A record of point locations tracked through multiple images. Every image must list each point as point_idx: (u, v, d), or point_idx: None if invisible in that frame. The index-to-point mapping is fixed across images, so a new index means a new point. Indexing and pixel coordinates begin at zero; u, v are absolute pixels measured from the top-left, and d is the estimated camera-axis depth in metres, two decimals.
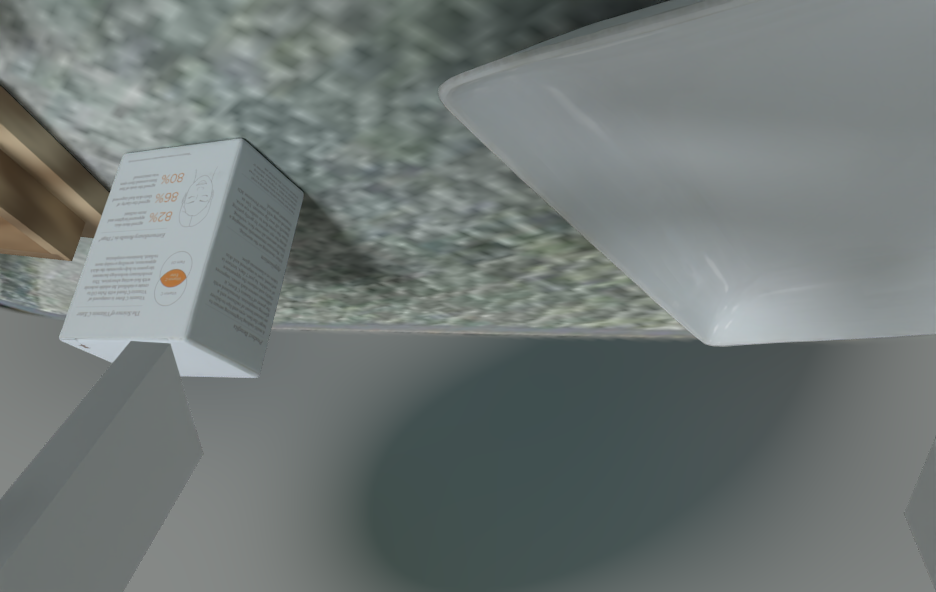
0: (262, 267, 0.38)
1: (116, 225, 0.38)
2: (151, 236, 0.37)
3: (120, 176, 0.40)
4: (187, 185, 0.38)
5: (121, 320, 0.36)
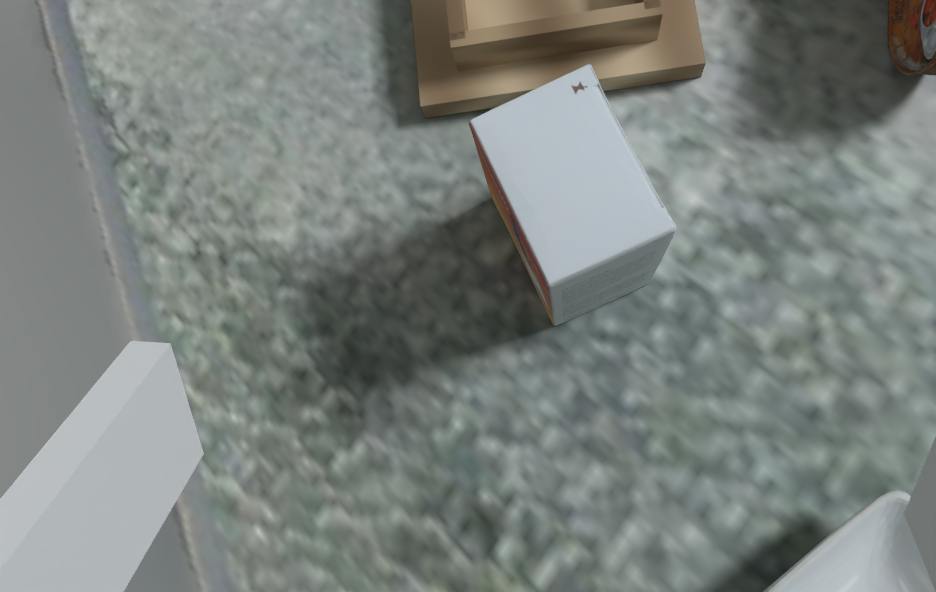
0: (590, 294, 0.35)
1: None
2: None
3: None
4: None
5: None
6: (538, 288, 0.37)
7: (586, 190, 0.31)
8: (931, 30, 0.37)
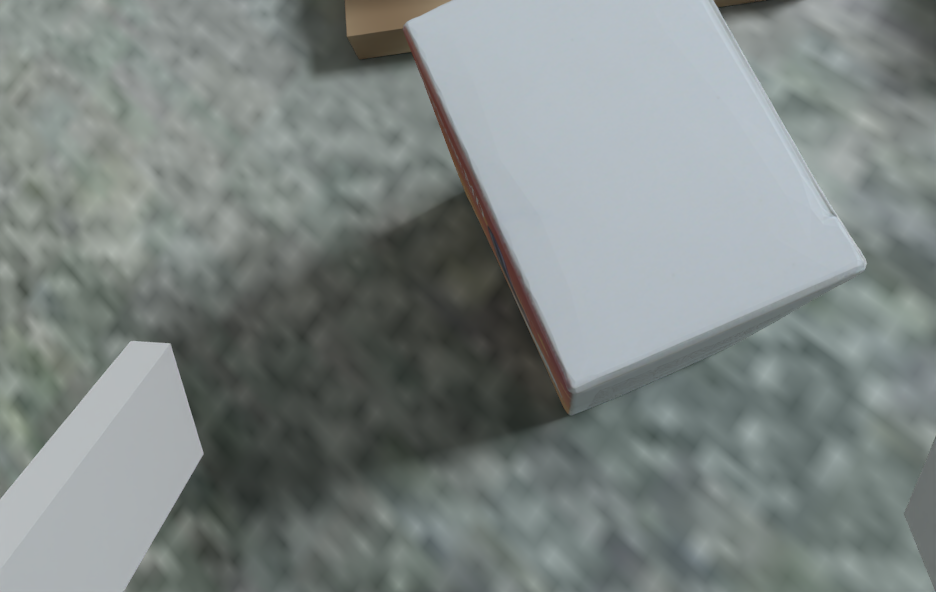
0: (645, 380, 0.18)
1: None
2: None
3: None
4: None
5: None
6: (543, 359, 0.20)
7: (659, 175, 0.14)
8: None
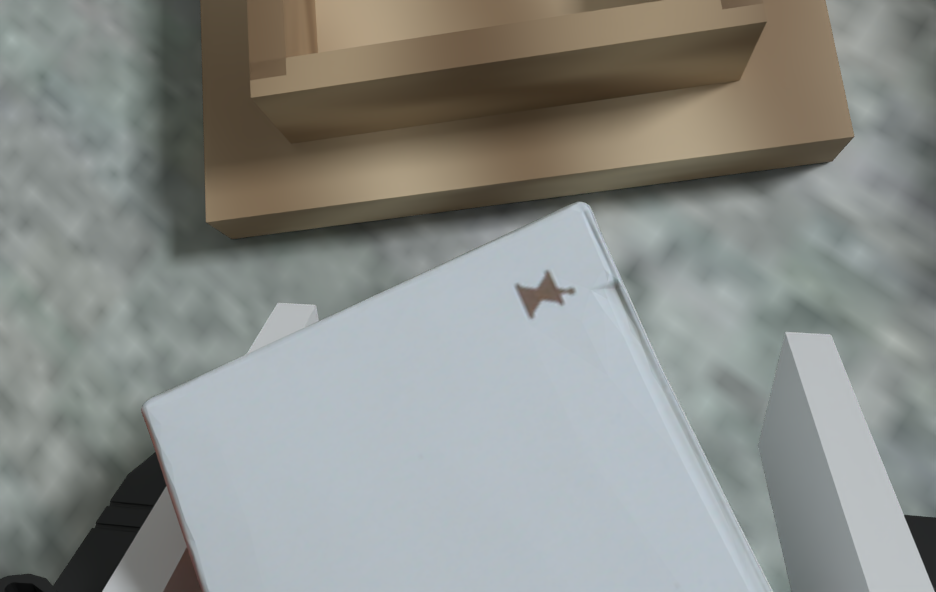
0: None
1: None
2: None
3: None
4: None
5: None
6: None
7: None
8: None
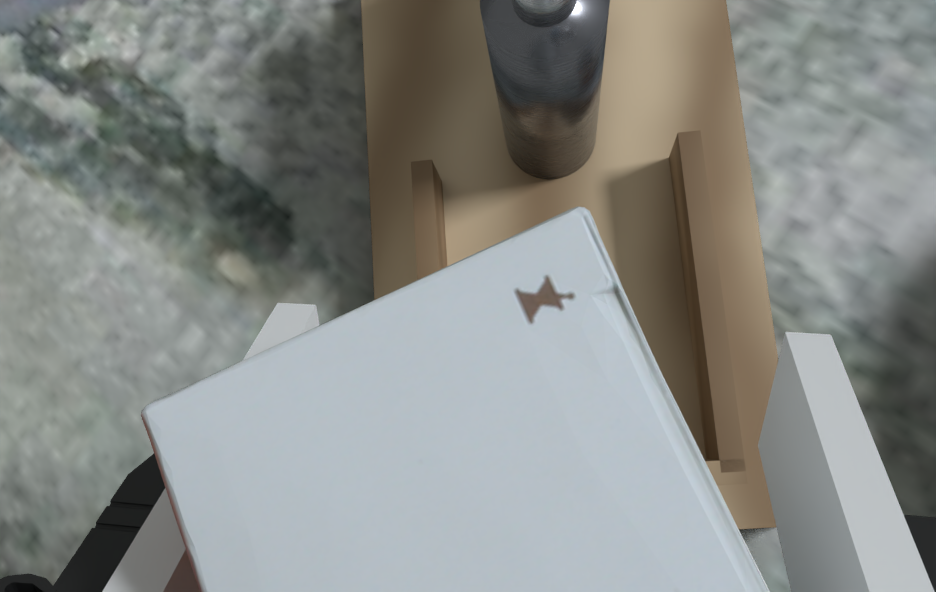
0: None
1: None
2: None
3: None
4: None
5: None
6: None
7: None
8: None
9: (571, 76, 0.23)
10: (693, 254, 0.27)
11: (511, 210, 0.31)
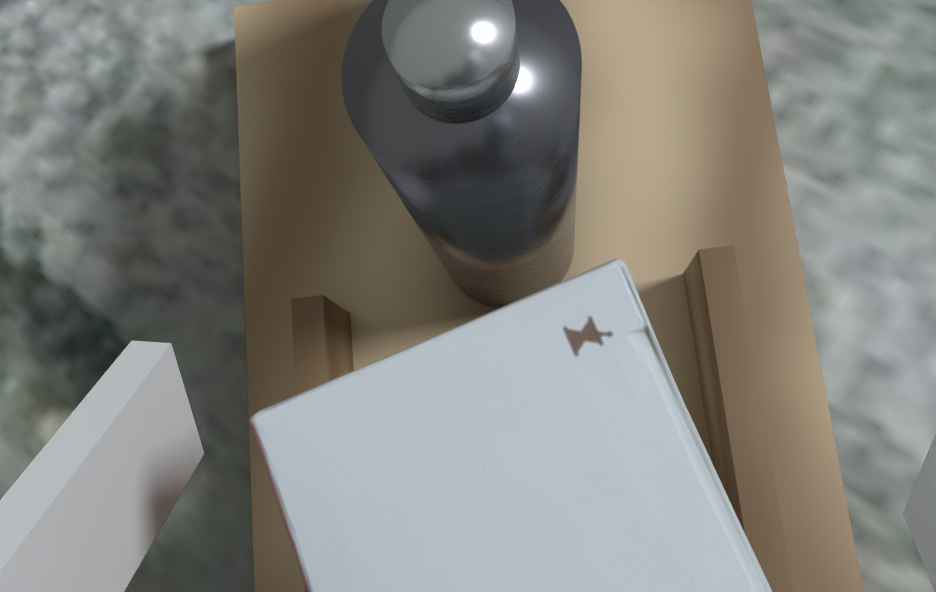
0: None
1: None
2: None
3: None
4: None
5: None
6: None
7: None
8: None
9: (518, 201, 0.13)
10: (731, 447, 0.17)
11: None
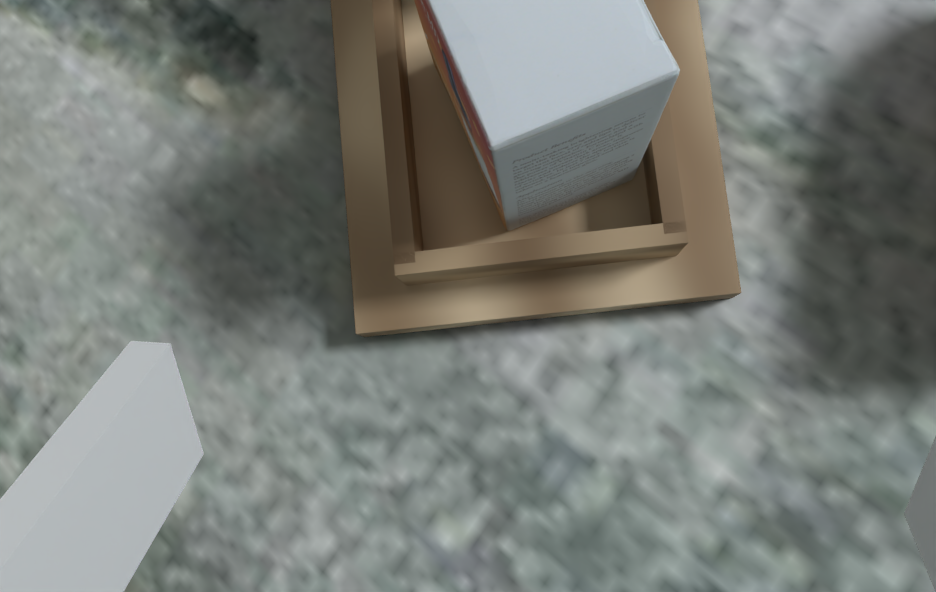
0: (554, 179, 0.26)
1: None
2: None
3: None
4: None
5: None
6: (485, 174, 0.28)
7: (552, 12, 0.21)
8: None
9: None
10: None
11: None
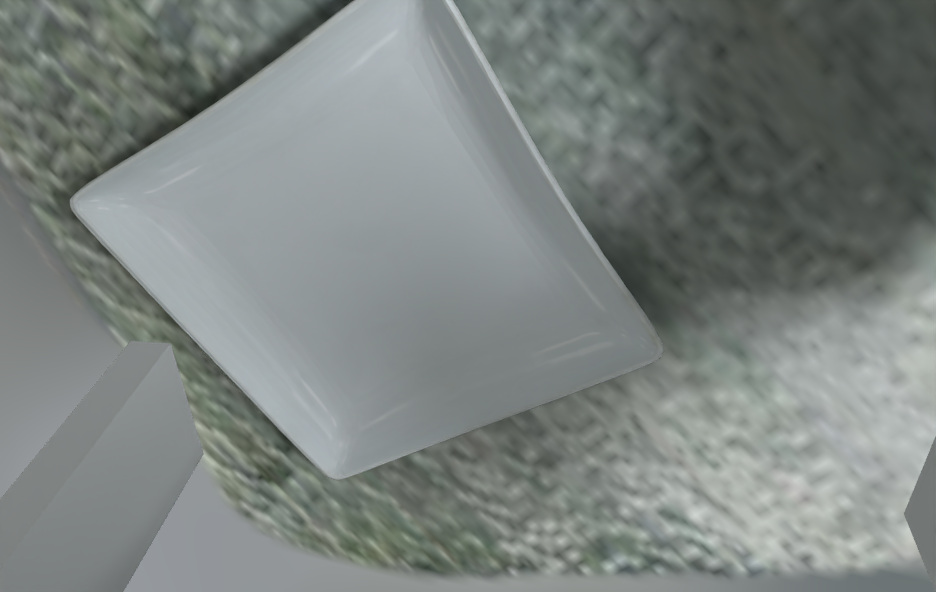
0: None
1: None
2: None
3: None
4: None
5: None
6: None
7: None
8: None
9: None
10: None
11: None
